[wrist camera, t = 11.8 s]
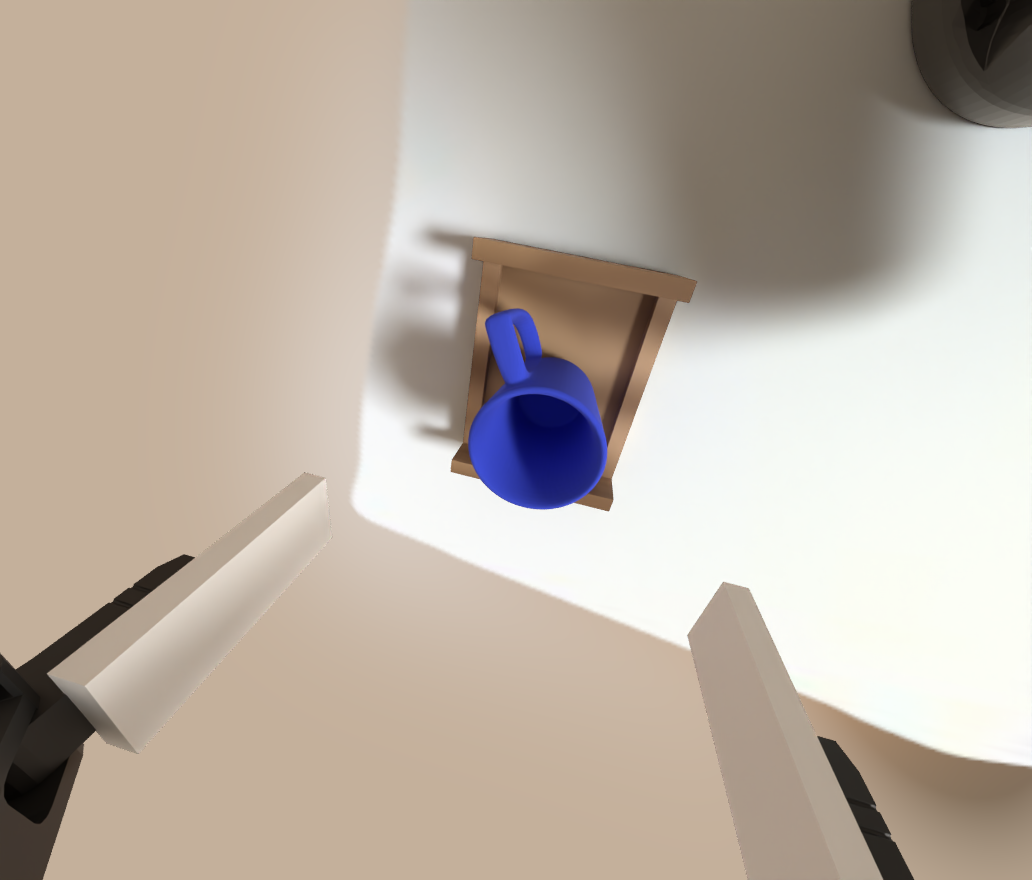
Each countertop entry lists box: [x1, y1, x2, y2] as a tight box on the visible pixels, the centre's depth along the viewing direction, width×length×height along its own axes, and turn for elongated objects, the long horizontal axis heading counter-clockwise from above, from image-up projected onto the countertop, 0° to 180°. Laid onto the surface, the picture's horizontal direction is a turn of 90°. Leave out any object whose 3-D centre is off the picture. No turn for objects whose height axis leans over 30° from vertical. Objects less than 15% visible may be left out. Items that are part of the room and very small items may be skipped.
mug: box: [468, 308, 607, 509], centre depth 25 cm, size 8×12×10 cm
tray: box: [451, 237, 697, 511], centre depth 28 cm, size 17×13×5 cm
